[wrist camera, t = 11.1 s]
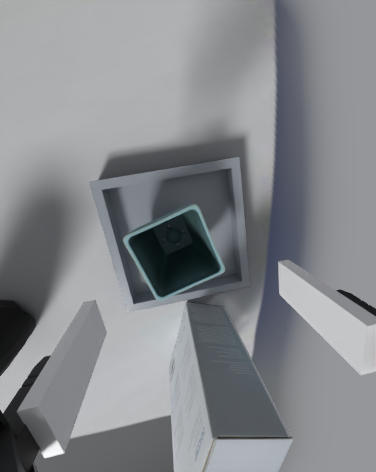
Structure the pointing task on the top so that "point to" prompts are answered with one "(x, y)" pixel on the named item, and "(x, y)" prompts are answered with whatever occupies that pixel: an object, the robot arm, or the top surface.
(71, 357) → the robot arm
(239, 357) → the hard drive box
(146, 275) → the flower pot
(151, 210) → the tray
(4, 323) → the portable speaker
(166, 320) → the top surface
